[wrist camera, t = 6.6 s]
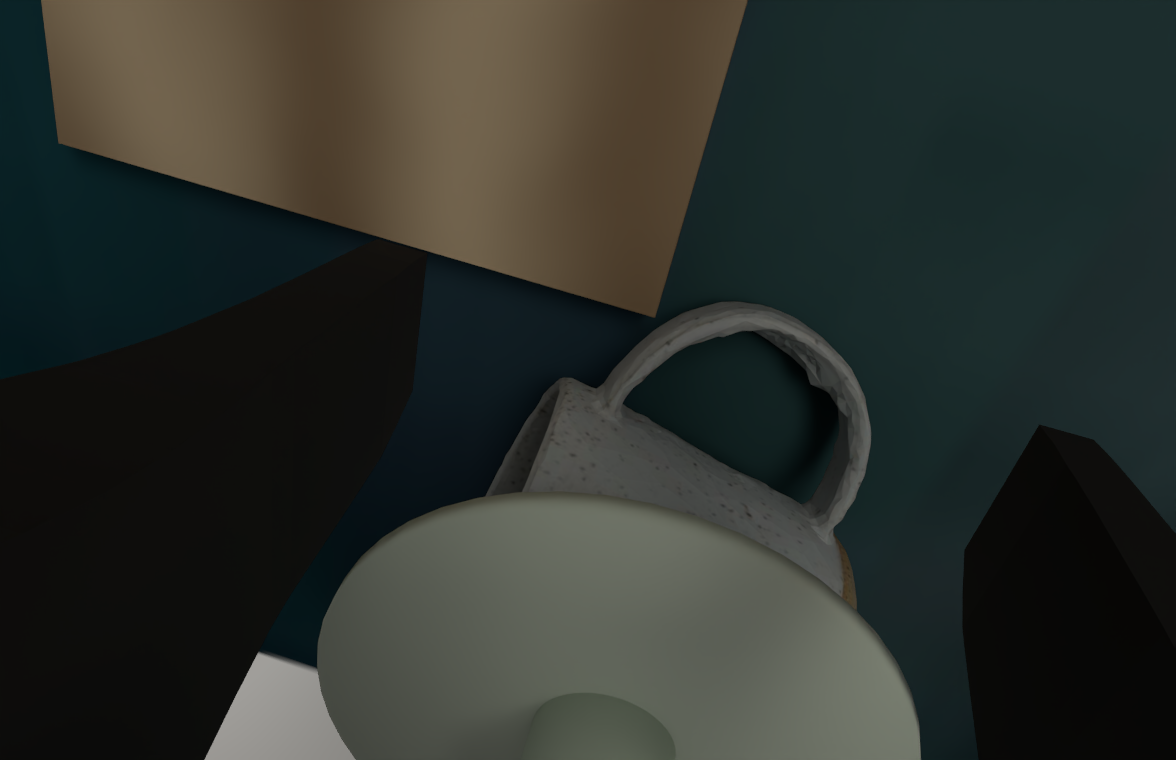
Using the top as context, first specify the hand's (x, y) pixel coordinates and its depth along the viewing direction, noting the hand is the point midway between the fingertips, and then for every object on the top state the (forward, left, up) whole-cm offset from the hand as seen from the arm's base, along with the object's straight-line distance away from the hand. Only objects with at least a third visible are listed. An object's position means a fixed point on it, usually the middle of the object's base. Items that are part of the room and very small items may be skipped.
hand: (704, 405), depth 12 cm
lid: (0, +10, -3) cm, 10 cm away
